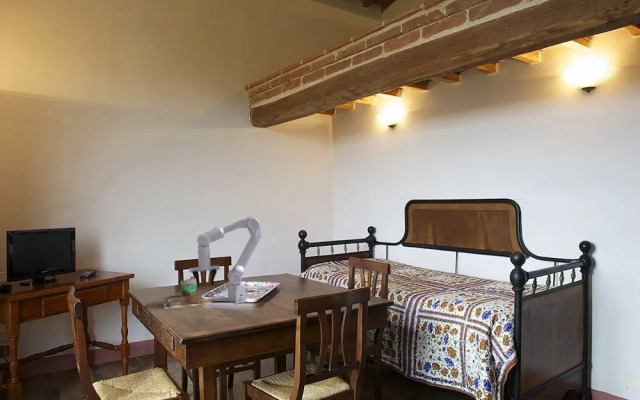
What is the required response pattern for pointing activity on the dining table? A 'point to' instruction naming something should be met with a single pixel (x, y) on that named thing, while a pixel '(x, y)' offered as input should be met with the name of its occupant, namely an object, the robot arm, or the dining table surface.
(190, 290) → the food container
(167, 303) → the cylinder
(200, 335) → the dining table surface
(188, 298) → the tan cardboard box
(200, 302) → the board
